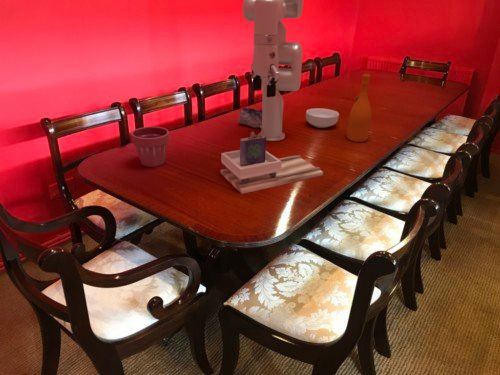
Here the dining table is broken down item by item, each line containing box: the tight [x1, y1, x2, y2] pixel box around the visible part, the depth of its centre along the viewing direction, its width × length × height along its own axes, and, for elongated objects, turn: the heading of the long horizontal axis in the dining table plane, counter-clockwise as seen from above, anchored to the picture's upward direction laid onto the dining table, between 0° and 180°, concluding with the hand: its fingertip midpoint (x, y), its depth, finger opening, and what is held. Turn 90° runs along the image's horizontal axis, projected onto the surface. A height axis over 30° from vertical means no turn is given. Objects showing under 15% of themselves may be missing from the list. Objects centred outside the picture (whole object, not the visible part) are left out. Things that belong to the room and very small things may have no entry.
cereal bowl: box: [305, 107, 340, 129], centre depth 197 cm, size 17×17×7 cm
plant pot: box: [130, 126, 170, 168], centre depth 151 cm, size 14×14×13 cm
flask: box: [239, 131, 267, 166], centre depth 136 cm, size 10×3×12 cm, turn 115°
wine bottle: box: [346, 73, 372, 143], centre depth 174 cm, size 10×10×30 cm
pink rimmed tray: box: [220, 149, 282, 184], centre depth 138 cm, size 16×16×6 cm
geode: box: [238, 107, 262, 129], centre depth 195 cm, size 20×12×10 cm, turn 57°
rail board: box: [220, 154, 324, 195], centre depth 144 cm, size 18×34×2 cm, turn 117°
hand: (263, 93), depth 132 cm, fingers open, 9 cm apart
